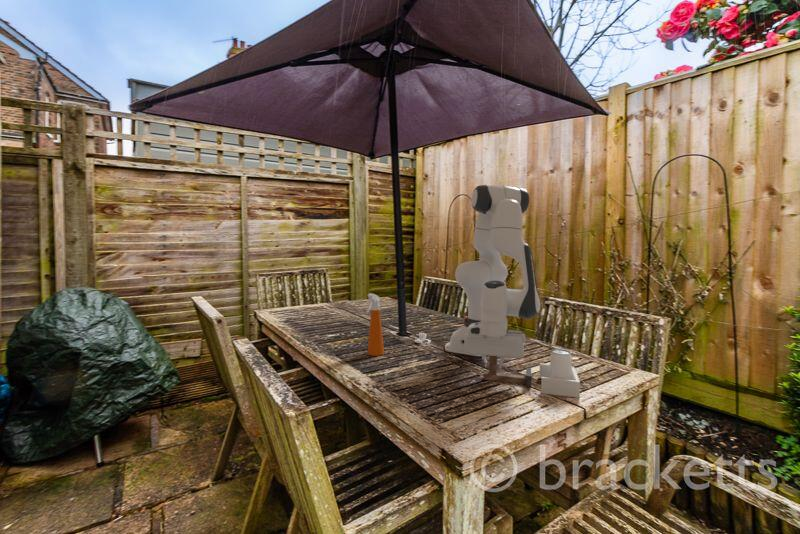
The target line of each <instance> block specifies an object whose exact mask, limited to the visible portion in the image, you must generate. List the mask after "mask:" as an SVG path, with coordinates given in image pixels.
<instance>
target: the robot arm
mask: <svg viewBox="0 0 800 534" xmlns="http://www.w3.org/2000/svg"><path fill="white" fill-rule="evenodd" d="M470 202H471V207H472V209H473V210H474V211H475V212H478V213H477V216H476V221H475V226H474V233H473V240H472V246H473V247H474V248H473V249H475V250H476V251H477V252H478V254H479V260H471V261H469V260H468V261H466V262H463V263H461V264H458V266H457V267H456V269H455V272H454V276H455V280H456V282H457V284H458V285H459V286H461V288H463V291H464V292H465V295H466V299H467V311H468V312H467V315H465V316H464V317H463V320H462V323H463V325H462V326H460V327H459V328H458V329H456V330H455V331H453V332H452V335H450V341H448V342H447V343H446V344H445V345H444V350H445V351H446V352H450V353H454V354H461V355H468V356H473V357H481V359H482V361H483V362H484V367H485V368H488V369H489V361H488V360H487V356H488V357H489V356H497V357H499V359H500V360H499V362H498V361H497V370H498V369H499V370H501V369H502V364H503V363H504V361H505V360H506V359H505V358H510V359H511V358H512V359H519V360H520V359H523V358H524V357H525V347H524V344H525V343H526V334H525V333H524V332H523V331H521V330H519V329H517V330H514V329H508V317H507V316H510V317H517V318H521V319H525V320H531V319H532V318H535V317H536V316H537V315H538V314H540V310H541V301H540V297H539V292H538V287H537V277H536V270H535V262H534V255H533V251H532V248H531V246H530V245H529V244H528V243H526V241H525V240H524V236H523V214H524V213H525V212H526V211H527V210H528V208H529V204H530V194H529V192H528V190H526V189H525V188H522V187H514V186H510V185H487V184H482V185H481V184H480V185H477V186H476V187H475V188H474V190H473V192H472V194H471V201H470ZM501 254H502V255H504V256H507V257H509V258H511V259H514V260H515V261H516V262H517V263H518V264H519V265H520V268H521V270H520V271H521V276H522V277H521V278H522V286H523V287H522V289H515V288H507V283H505V281H506V279H507V278H508V274H509V270H508V267H507V265H506V263H504V262H503V259H502V257H501Z"/></svg>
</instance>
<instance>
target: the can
mask: <svg viewBox="0 0 800 534" xmlns="http://www.w3.org/2000/svg"><path fill="white" fill-rule="evenodd" d="M549 357H550V358H549V359H550V361H549V364H550V378H558V379H567V380H571V371H572V367H573V366H572V364H573V363H572V362H573V357H572V355H571V351H570V350H567V349H562V348H554V349H552V350H551V353H550V356H549Z"/></svg>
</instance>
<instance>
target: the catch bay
mask: <svg viewBox="0 0 800 534" xmlns="http://www.w3.org/2000/svg"><path fill="white" fill-rule="evenodd" d="M538 378H539V379H541V380H540V381H541V384H540V385H541V386H540V392H541V393H540V394H546V395H555V396H562V397H569V398H577V399H580V397H581V396H580V394H581V393H580V391H581V381H580V379H579V378H580V377H579V375H578V373H577V370H576V368H575V366H572V371H571V380H567V379H558V378H550V363H541V362H540V363H539V375H538Z"/></svg>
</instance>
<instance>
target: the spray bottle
mask: <svg viewBox="0 0 800 534" xmlns="http://www.w3.org/2000/svg"><path fill="white" fill-rule="evenodd" d="M367 297H368V305H367V309H366V311H365V313H366V314H368V313H369V312H370V317H369V318H370V320H369V321H370V322H369V330H368V331H369V332H368V342H367V343H368V345H367V354H368V355H369V356H372V357H373V356H374V357H375V356H376V357H377V356H382V355H384V354H385V348H384V337H383V329H382V318H381V317H382V315H381V309H380V307H381V306H380V301H381V298H380V296H379V295H377V294H375V293H373V292H372V293H368V294H367Z"/></svg>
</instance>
